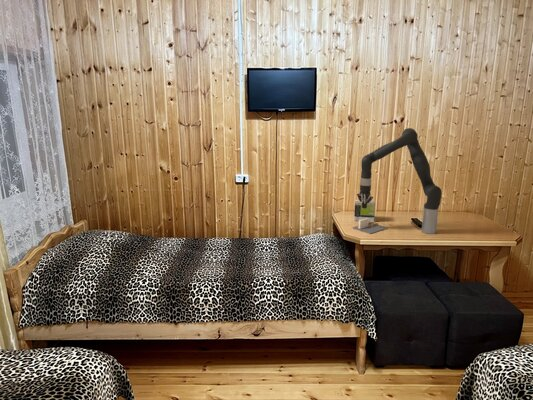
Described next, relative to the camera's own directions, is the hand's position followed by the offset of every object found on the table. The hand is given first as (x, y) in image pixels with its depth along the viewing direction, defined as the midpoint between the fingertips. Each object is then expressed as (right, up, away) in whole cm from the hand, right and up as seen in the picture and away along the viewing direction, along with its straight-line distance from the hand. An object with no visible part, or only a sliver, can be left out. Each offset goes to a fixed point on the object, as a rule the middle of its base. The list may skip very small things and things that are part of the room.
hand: (364, 208), depth 270 cm
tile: (+4, -10, +6) cm, 12 cm away
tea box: (+6, -10, +24) cm, 26 cm away
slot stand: (+8, -12, +9) cm, 18 cm away
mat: (+5, -15, +3) cm, 16 cm away
